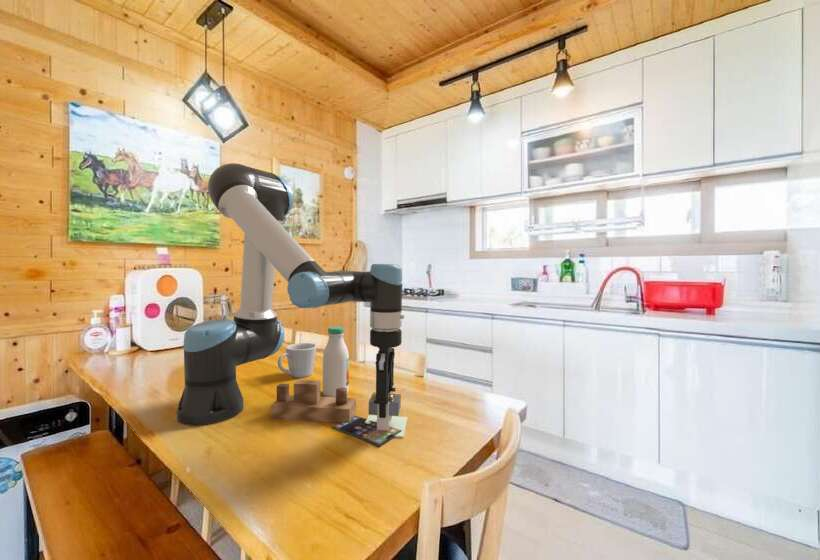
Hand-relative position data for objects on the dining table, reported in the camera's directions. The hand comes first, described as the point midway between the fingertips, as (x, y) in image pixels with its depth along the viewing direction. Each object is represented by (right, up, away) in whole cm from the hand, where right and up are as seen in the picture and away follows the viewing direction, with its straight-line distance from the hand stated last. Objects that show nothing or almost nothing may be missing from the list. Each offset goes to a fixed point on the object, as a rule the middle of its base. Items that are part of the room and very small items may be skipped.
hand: (384, 423), depth 86 cm
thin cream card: (0, -1, 0) cm, 1 cm away
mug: (-33, +1, +37) cm, 50 cm away
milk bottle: (-16, 0, +21) cm, 27 cm away
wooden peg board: (-19, 0, +6) cm, 20 cm away
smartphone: (-4, -1, -2) cm, 5 cm away
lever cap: (0, +3, 0) cm, 3 cm away
